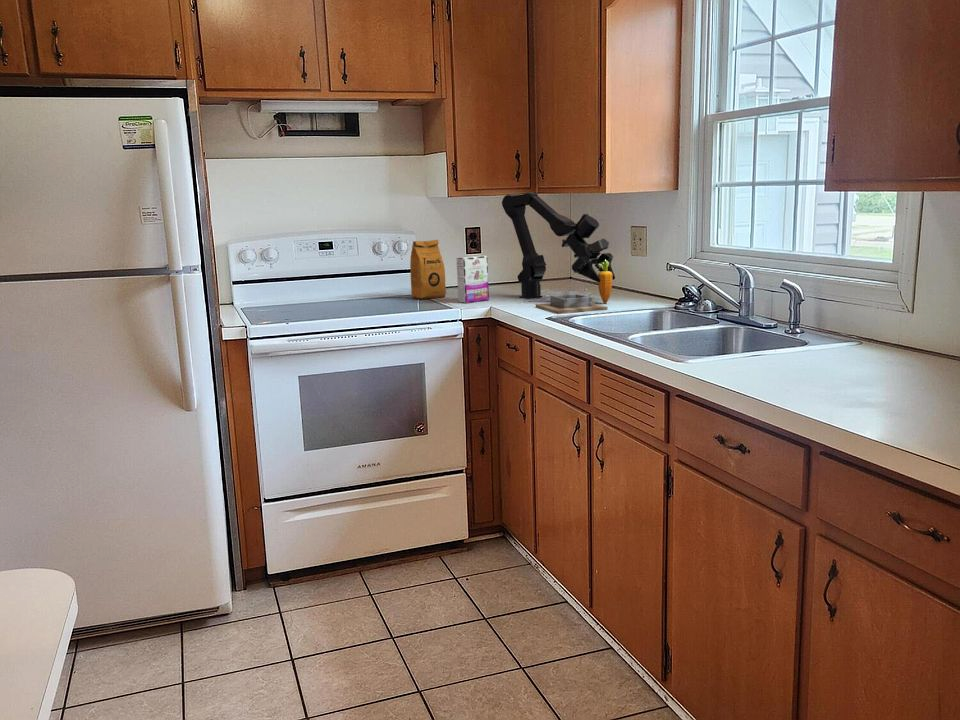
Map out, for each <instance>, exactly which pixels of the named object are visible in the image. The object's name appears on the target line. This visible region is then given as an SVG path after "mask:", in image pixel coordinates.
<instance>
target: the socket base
mask: <svg viewBox="0 0 960 720" xmlns="http://www.w3.org/2000/svg"><path fill="white" fill-rule="evenodd" d="M549 299H550V300H549V301H550V302H548V303H547V302H546V303H536V304H535V308H537V309H541V310H544V311H548V312H551V313H554V314H558V315H562V314H574V313H585V312H586V313H587V312H596V311H597V312H598V311H607V310H608V306H606V305H601V304H598V303H595V302H593V297H592V296H588V295H583V294H580V293H573V294H572V293H571V294H560V295H550V296H549Z"/></svg>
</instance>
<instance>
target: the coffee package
mask: <svg viewBox="0 0 960 720" xmlns="http://www.w3.org/2000/svg"><path fill="white" fill-rule="evenodd" d="M411 246H412V247H411V252H410V262H409V263H410V267H409V268H410V288H411V298H413V299H420V300H427V299H428V300H430V299H439V298H440V299H441V298H445V297H446V296H447V295H446V294H447V288H446V287H447V286H446V285H447V284H446V271H445V270H446V269H445V264H444V260H443V257H442V254H441V251H440V248H439V239H433V240H413V242H412V245H411Z"/></svg>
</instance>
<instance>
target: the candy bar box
mask: <svg viewBox="0 0 960 720" xmlns="http://www.w3.org/2000/svg"><path fill="white" fill-rule="evenodd" d="M455 259H456V275H457V276H456V277H457V278H456V279H457V296H458V297H457V299H458V303H460V304H471V303H479V302H484V301H485V302H486V301H489V300H490V293H489V291H490V290H489V286H490V285H489V266H488V256H487V255H472V256H464V257H463V256H462V257H456V258H455Z"/></svg>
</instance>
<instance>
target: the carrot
mask: <svg viewBox="0 0 960 720" xmlns="http://www.w3.org/2000/svg"><path fill="white" fill-rule="evenodd" d="M602 264H603V266H602V265H601V264H598V265H599V266H600V267H601V268H602V269H603V271H601V272H600V271H599V272H598V273H597V275H598V276H599V278H600V280H601V281H600V282H597V284H598V291H599V296H600V298H601V301H602V302H603V303H604V304H607V303H608V301H609V299H610V296H611V295H612V288H613V280H612V276H613V275H612V272H610V271H607V269H608V266H609V262H608V261H607V260H605V264H604V262H603V263H602Z"/></svg>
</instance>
